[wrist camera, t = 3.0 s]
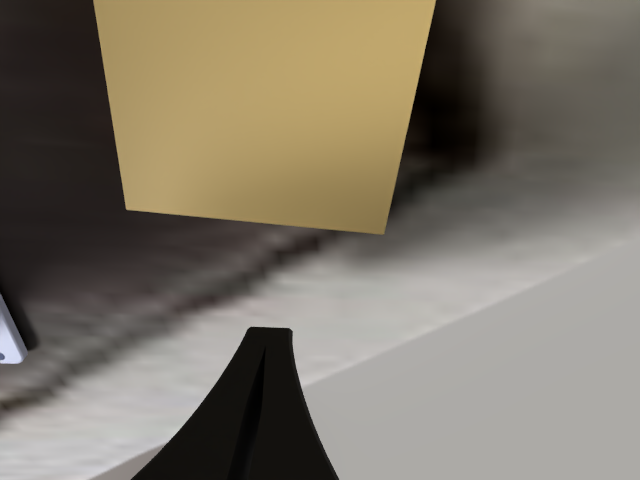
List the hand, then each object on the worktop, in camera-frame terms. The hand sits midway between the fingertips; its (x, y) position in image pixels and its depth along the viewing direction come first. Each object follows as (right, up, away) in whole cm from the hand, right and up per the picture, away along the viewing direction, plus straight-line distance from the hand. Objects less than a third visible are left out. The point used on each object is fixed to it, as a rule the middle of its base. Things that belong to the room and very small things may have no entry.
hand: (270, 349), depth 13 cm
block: (0, +9, -1) cm, 9 cm away
